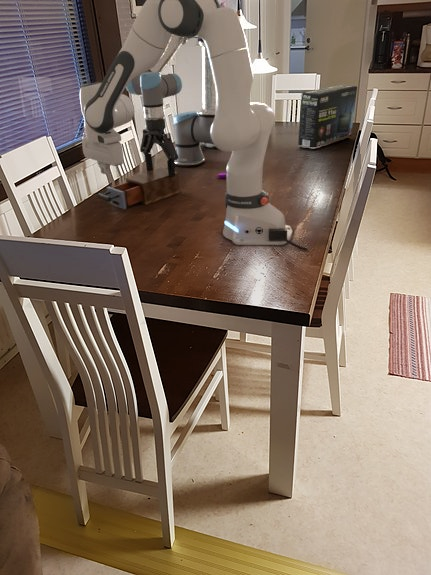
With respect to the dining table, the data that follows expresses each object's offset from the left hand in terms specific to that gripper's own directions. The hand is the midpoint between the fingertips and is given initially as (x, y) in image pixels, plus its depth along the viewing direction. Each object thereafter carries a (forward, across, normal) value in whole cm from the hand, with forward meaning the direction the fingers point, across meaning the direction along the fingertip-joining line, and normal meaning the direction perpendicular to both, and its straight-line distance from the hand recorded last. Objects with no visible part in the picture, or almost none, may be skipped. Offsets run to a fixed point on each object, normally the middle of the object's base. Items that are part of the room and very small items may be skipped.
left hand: (160, 173), depth 182 cm
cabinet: (+8, 0, -4) cm, 9 cm away
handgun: (+8, +14, +27) cm, 31 cm away
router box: (+10, +9, +106) cm, 106 cm away
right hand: (-7, 0, -25) cm, 26 cm away
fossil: (+9, -36, +67) cm, 77 cm away
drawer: (+7, 0, -17) cm, 18 cm away
